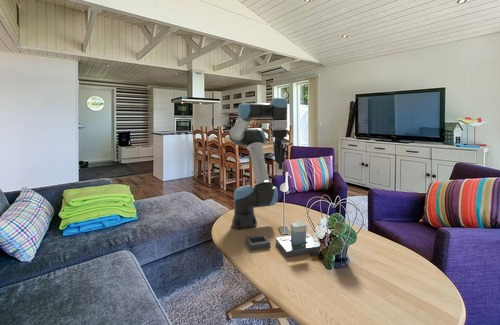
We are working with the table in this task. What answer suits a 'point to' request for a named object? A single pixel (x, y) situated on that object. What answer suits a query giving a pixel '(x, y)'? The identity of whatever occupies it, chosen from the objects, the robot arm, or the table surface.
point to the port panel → (298, 246)
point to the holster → (257, 242)
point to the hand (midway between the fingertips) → (279, 175)
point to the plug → (298, 233)
